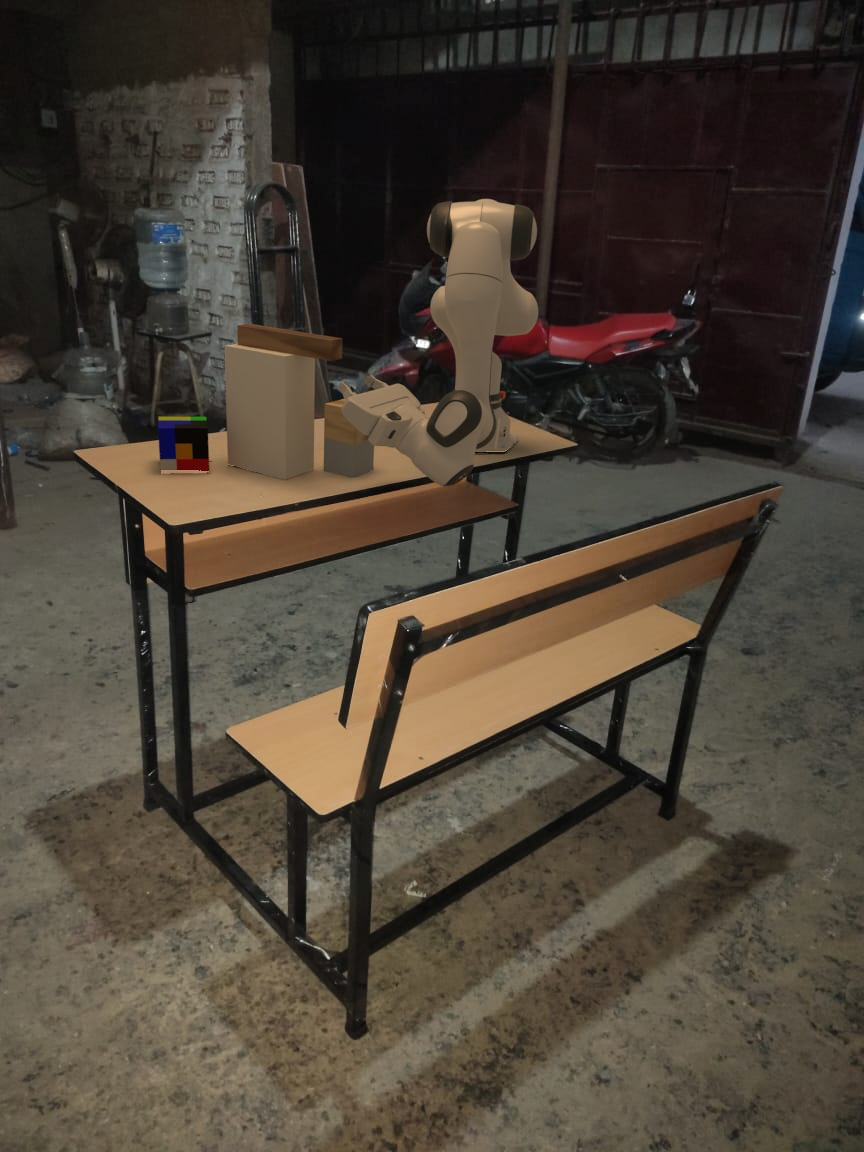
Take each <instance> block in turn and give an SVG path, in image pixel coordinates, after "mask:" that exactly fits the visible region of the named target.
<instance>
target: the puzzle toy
mask: <svg viewBox="0 0 864 1152" xmlns="http://www.w3.org/2000/svg"><path fill="white" fill-rule="evenodd" d="M207 421H208V420H207V416H158V422H157V433H158V436H157V437H158V453H159V467H160V468H159V469H160V471H161V470H199V471H200V470H201V471H209V472H210V454H209V453H210V452H209V451H210V450H209V427H208V422H207Z"/></svg>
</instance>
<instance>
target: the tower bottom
mask: <svg viewBox="0 0 864 1152" xmlns="http://www.w3.org/2000/svg"><path fill="white" fill-rule="evenodd" d="M374 453H375V446H374V445H372V444H371V443H370V442H369V441H368V440H366V441H363V442H360V443H357V444H350V443H345V442H341V441H336V440H332V439H327V438H324V437H323V471H324V472H328V473H333V474H336V475H340V476H343V477H344V476H345V477H347V478H348V477H349V478H352V479H354V478H357V477H359V476H362V475H364V474H366V472H367V473H370V472H371V470H372V471H373V470H374V459H375V457H374V455H375V454H374Z"/></svg>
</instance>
